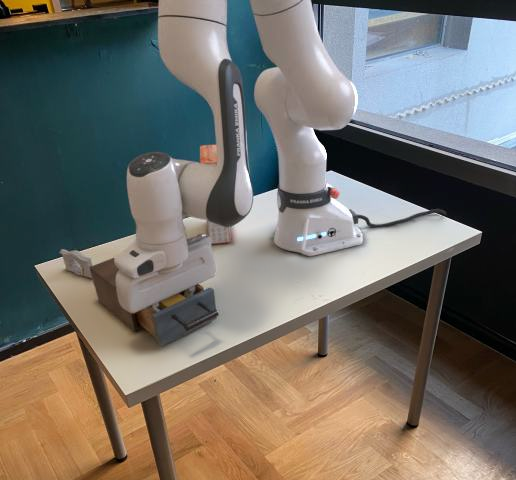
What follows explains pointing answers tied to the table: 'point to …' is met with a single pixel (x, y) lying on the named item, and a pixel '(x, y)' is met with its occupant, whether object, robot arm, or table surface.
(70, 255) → the garden wall model
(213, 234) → the cracker box
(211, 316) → the drawer
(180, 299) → the block
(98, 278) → the cabinet
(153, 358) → the table surface
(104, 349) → the table surface
